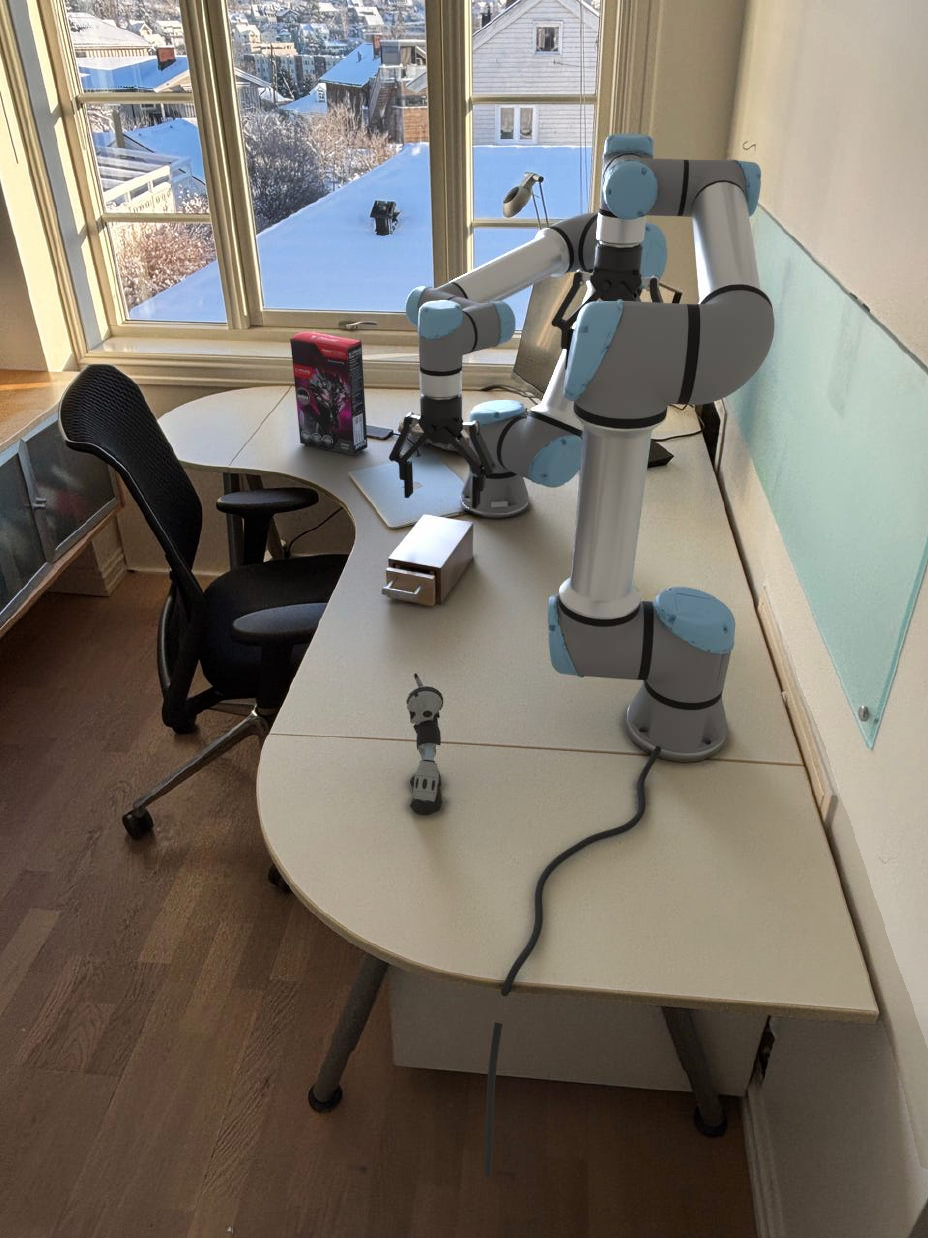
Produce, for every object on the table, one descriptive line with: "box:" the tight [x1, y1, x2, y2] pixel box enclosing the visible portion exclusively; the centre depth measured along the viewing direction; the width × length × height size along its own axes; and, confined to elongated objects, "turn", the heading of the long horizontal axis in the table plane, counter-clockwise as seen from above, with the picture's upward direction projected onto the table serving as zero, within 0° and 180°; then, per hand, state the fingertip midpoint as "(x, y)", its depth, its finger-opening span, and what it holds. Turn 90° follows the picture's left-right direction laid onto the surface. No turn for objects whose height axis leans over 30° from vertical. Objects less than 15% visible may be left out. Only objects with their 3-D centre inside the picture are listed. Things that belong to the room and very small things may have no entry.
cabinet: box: [387, 514, 474, 605], centre depth 179 cm, size 19×10×8 cm, turn 161°
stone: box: [397, 413, 469, 453], centre depth 233 cm, size 21×15×6 cm
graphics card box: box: [289, 330, 368, 456], centre depth 225 cm, size 17×7×27 cm, turn 62°
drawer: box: [381, 564, 437, 607], centre depth 175 cm, size 23×9×6 cm, turn 161°
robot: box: [405, 673, 444, 816], centre depth 125 cm, size 20×5×20 cm, turn 3°
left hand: (442, 500), depth 176 cm, fingers open, 13 cm apart
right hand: (607, 371), depth 160 cm, fingers open, 13 cm apart
